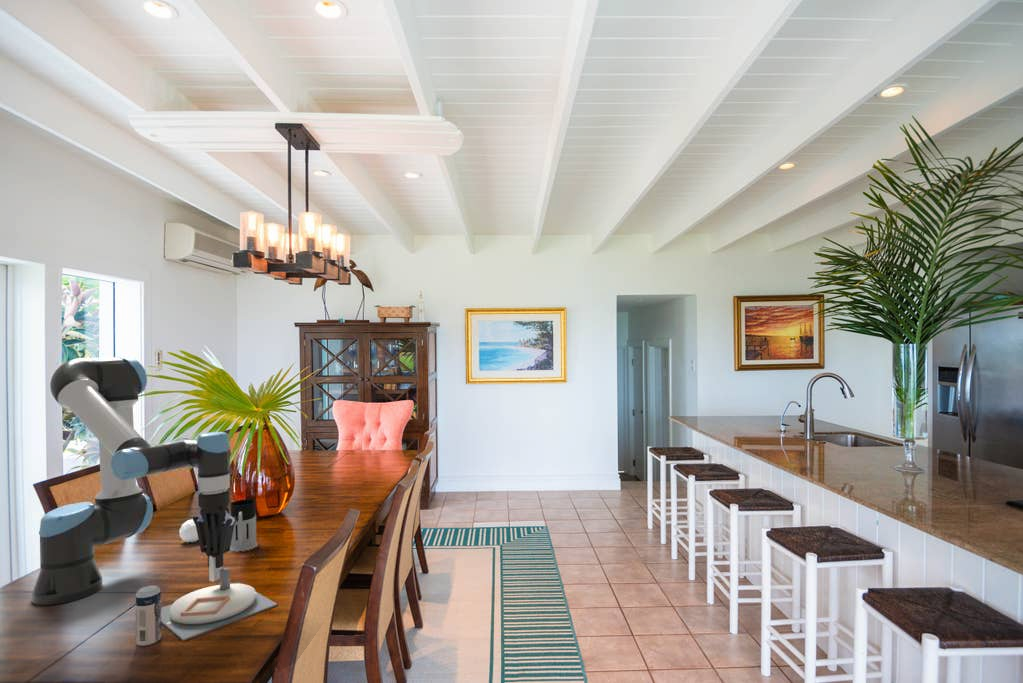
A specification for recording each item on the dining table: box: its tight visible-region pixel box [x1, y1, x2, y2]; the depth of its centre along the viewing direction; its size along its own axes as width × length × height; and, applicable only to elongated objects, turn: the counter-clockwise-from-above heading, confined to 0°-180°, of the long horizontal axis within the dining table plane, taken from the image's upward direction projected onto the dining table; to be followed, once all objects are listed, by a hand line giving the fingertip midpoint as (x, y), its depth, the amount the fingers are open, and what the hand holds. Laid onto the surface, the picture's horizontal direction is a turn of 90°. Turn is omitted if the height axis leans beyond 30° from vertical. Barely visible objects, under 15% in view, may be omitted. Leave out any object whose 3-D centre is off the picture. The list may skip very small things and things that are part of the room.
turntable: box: [170, 567, 256, 624], centre depth 140 cm, size 19×19×7 cm
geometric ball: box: [178, 518, 199, 543], centre depth 193 cm, size 8×8×8 cm
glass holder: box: [230, 499, 258, 553], centre depth 183 cm, size 9×14×15 cm, turn 20°
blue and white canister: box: [135, 584, 162, 647], centre depth 125 cm, size 5×5×12 cm
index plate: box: [161, 581, 278, 642], centre depth 140 cm, size 22×22×1 cm
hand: (215, 579), depth 148 cm, fingers closed
